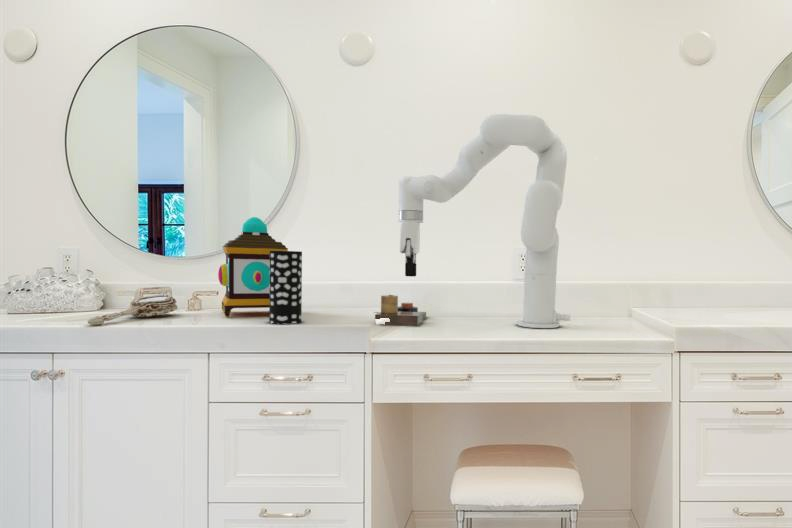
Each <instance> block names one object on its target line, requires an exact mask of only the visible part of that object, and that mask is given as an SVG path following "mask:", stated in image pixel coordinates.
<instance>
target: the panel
mask: <svg viewBox="0 0 792 528" xmlns="http://www.w3.org/2000/svg"><path fill="white" fill-rule="evenodd" d="M423 312H424V311H418V312H401V311H398V313H395V314H385V313H381V311H380V312H379V311H373V313H374V320H375V319H380V318H389V319H390V322H385V325H384V326H396V327H397V326H398V327H400V326H401V327H418V326H420V325H421V324H422V323H423V320H422V316H423Z"/></svg>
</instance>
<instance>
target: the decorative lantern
mask: <svg viewBox="0 0 792 528" xmlns="http://www.w3.org/2000/svg"><path fill="white" fill-rule="evenodd" d="M222 251H223V252H224V254H225V263H223V264H221V265H220V266H219V268H218V273H217V276H218V282H219V284H220V285H221V286H223V287H225V288H226V289H225V294H224V295H223V297H222V300H221V310H222V312H223V313H224V316H225V317H226V318H231V312H232V310H233V309H255V308H256V309H261V308H263V309H264V308H267V309H268V308H269V301H270V251H289V248H287V247H286V245H285V244H283V242H281V241H276V239H275V238H273V237H272V236H271V235H269V232H268V227H267V224H266V223H265V222H264V220H262V219H260V218H259V217H256V216H253V217H252V216H251V217H250V218H248V219H247V220H246V221H245V222H244V223H243V224H242V227H241V234H239V235H238V236H237V237H234V239H232V240H228V241H227V242H226V243H224V245H223V246H222Z"/></svg>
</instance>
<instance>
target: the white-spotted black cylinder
mask: <svg viewBox="0 0 792 528" xmlns="http://www.w3.org/2000/svg"><path fill="white" fill-rule="evenodd" d="M302 289H303V251H297V250H296V251H295V250H288V251H270V301H269V309H268V310H269V311H268V313H269V316H268V317H269V320H268V321H269V323H270V324H272V323H275V324H274V325H280V324H279V323H297V324H300V323H299V322H301V323H302V306H303V305H302V304H303V303H302V298H303V297H302V296H303V295H302V293H303V291H302ZM277 323H278V324H277Z"/></svg>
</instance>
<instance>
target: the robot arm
mask: <svg viewBox="0 0 792 528" xmlns="http://www.w3.org/2000/svg"><path fill="white" fill-rule="evenodd" d="M511 146H519V147H520V146H521V147H522V146H523V147H526V148H527V149H528V150H529V151H531V152H532V153H534V154H535V155H536V156H537V158H538V162H537V166H536V173H535V175H536V176H535V181H534V182H533V183H532V184H531V185H530V186H529V187H528V189H527V191H526V195H525V199H524V205H523V214H522V219H521V220H522V221H521V227H520V239H521V242H522V244H523V245H524V247H525V248H526V249H525V250H526V251H525V261H524V279H523V282H524V283H523V284H524V285H523V308H522V309H523V310H522V319H519V320H518V321H517V326H520V327H524V328H532V329H555V328H559V327H560V324H561V323H560V321H564V322H571V314H563V313H558V312H557V311H556V294H557V293H556V292H557V271H558V256H559V255H558V253H559V244H560V238H559V237H560V236H559V231H558V229H557V228H556V224H557V218H558V212H559V210H560V209H561V207H562V205H563V199H564V198H563V195H564V187H565V186H564V185H565V181H566V171H567V170H566V169H567V160H568V155H567V153H568V152H567V149H566V145H565V143H564V142H563V140H562V139H561V138H560V137H559V136H558V134H556V133H555V132H554V131H553V130H552V129H551V128H550V127H549V125H548V123H547V121H545V119H543V118H541V117H539V116H536V115H531V114H530V115H529V114H527V115H526V114H510V113H508V114H507V113H494V114H493V113H492V114H490V115H487V116H486V117H485V118H484V119H483V120H482V121H481V123H480V126H479V133H478V134H477V135H476V136H474V137H473V138H472V139H471V140H470V141H468V142H467V143H466V144H465V145H463V146H462V147H461V148H460V149H459V152H458V156H457V161H456V163H455V164H453V167H452V168H451V169H450V170H448V171H447V172H446V173H445V174H444V175H443V176H441V177H439V176H437V175H433V174H429V175H422V176H403V177H400V179H399V181H398V222H399V223H400V233H399V253H400V254H405V257H404V259H405V263H404V267H405V268H404V275H405V277H416V276H417V254H419V253H420V246H421V245H420V242H421V230H420V229H421V226H420V225H421V223H422V224H423V223H424V200H427V201H431V202H435V203H439V204H441V203H442V204H443V203H446V202H448V201H450V200H451V199H453V198H454V197H455V196H457V195H458V194H459V193H460V192H462V191H463V190H464V189H465V188H466V187H468V185H469V184H470V183H471V182H472V181H473V180H474V178H475V177H476V176H477V174H478V173H479V172H480V171H481V170H482V169H483V168H485V167H486V166H487V165H488V164H490V163H491V162H492V161H493V160H494V159H496V158H498V157H499V156H500V155H501V154H502V153H503V152H505V151H506V150H507V149H508V148H509V147H511Z"/></svg>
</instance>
